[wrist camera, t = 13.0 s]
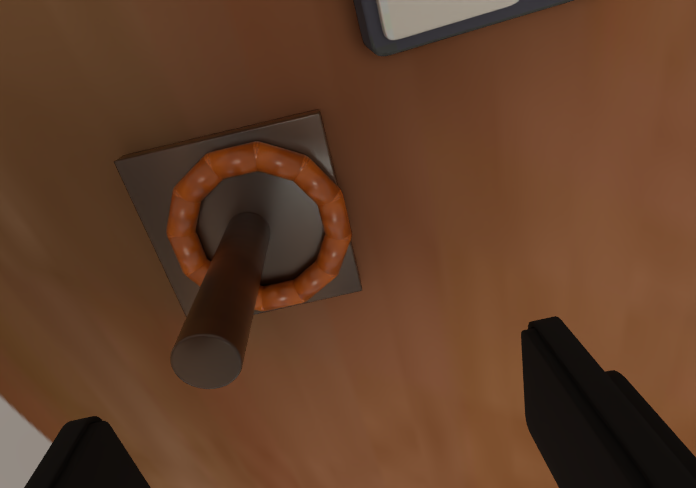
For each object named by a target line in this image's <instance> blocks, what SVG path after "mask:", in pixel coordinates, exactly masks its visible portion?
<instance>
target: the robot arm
mask: <svg viewBox="0 0 696 488" xmlns="http://www.w3.org/2000/svg"><path fill="white" fill-rule="evenodd" d="M521 342H522V361H523V380H524V399H525V417H526V422H527V426H528V429H529V431H530V433H531V436H532V437H533V439H534V441H535V443H536V445H537V447H538V449H539V451H540V452H541V454H542V456H543V458H544V460H545V462H546V464H547V466H548V468H549V469H550V471H551V473H552V475H553V477H554V479H555V481H556V483H557V485H558V486H559V488H696V457H695V456H694V455H693V454H692V453H691V451H690V450H689V449H688V448H687V447H686V446H685V445H684V444H683V442H682V441H681V440H680V439H679V438H678V437H677V436H676V435H675V433H674V432H673V431H672V430H671V429H670V428H669V427H668V425H667V424H666V423H665V422H664V421H663V420H662V419H661V418H660V416H659V415H658V414H657V413H656V412H655V411H654V410H653V409H652V407H651V406H650V405H649V404H648V403H647V402H646V401H645V399H644V398H643V397H642V396H641V395H640V394H639V393H638V392H637V390H636V389H635V388H634V387H633V386H632V385H631V384H630V383H629V381H628V380H627V379H626V378H625V377H624V376H623V375H622V374H620V373H619V372H617V371H615V370H613V371H606V372H604V370H603V369H602V368H601V367H600V366H599V364H598V363H597V362H596V361H595V360H594V358H593V357H592V356H591V355H590V354H589V352H588V351H587V350H586V349H585V348H584V347H583V345H582V344H581V343H580V342H579V341H578V339H577V338H576V337H575V336H574V335H573V333H572V332H571V331H570V330H569V329H568V327H567V326H566V325H565V324H564V323H563V322H562V320H561V319H560V318H558V317H556V316H555V317H550V318H546V319H541V320H536V321H532V322H529V325H528V329H527V330H523V331H522V332H521ZM24 488H150V486H149V485H148V483H147V481H146V480H145V478H144V477H143V475H142V474H141V472H140V471H139V469H138V468H137V466H136V464H135V463H134V461H133V460H132V458H131V457H130V455H129V454H128V452H127V451H126V449H125V447H124V446H123V444H122V443H121V441H120V440H119V438H118V437H117V435H116V434H115V432H114V431H113V429H112V427H111V426H110V424H109V423H108V422H106V421H102V420H101V419H100V418H99V417H97V416H92V417H88V418H83V419H78V420H74V421H69V422H68V423H66V424H65V425H64V426H63V427H62V429H61V430H60V432H59V434H58V435H57V437H56V438H55V440H54V441H53V443H52V445H51V446H50V448H49V450H48V451H47V453H46V454H45V456H44V458H43V459H42V461H41V462H40V464H39V465H38V467H37V469H36V470H35V472H34V473H33V475H32V476H31V478H30V479H29V481H28V483H27V484H26V486H25V487H24Z"/></svg>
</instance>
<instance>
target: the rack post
mask: <svg viewBox="0 0 696 488" xmlns="http://www.w3.org/2000/svg"><path fill="white" fill-rule="evenodd" d="M255 141H259V142H263V143H267V144H270V145H273V146H277V147H280V148H284V149H287V150H290V151H294V152H297V153H301V154H304V155H306V156H308V157H309V158H310V159H311V160H312V161H313V162H314V163H315V164H316V165H317V166H318V167H319V168H320V169H321V170H322V171H323V172H324V173H325V174H326V175H327V176H328V177H329V178H330V179H331V180H332V181H333V182H334V183H335V184H336V185H337V186H338V184H337V180H336V176H335V172H334V168H333V164H332V159H331V155H330V151H329V147H328V143H327V138H326V134H325V130H324V126H323V122H322V118H321V113H320V110H319V109H317V110H313V111H309V112H305V113H300V114H296V115H292V116H288V117H284V118H279V119H275V120H271V121H267V122H263V123H258V124H254V125H250V126H246V127H241V128H237V129H233V130H229V131H225V132H220V133H216V134H212V135H208V136H204V137H199V138H195V139H191V140H187V141H182V142H178V143H174V144H170V145H166V146H161V147H157V148H153V149H149V150H145V151H140V152H136V153H132V154H128V155H123V156H122V157H120V158H119V159H117V160H116V161H114V163H115V165H116V168H117V170H118V172H119V174H120V176H121V178H122V180H123V183H124V185H125V187H126V189H127V191H128V193H129V195H130V198H131V200H132V202H133V204H134V206H135V208H136V210H137V213H138V215H139V217H140V219H141V221H142V223H143V225H144V228H145V230H146V232H147V234H148V236H149V238H150V240H151V243H152V245H153V247H154V249H155V251H156V253H157V255H158V258H159V260H160V262H161V264H162V266H163V268H164V270H165V273H166V275H167V277H168V279H169V281H170V283H171V285H172V288H173V290H174V292H175V294H176V296H177V298H178V300H179V303H180V305H181V307H182V309H183V311H184V313H185V315H186V320H185V322H184V325H183V327H182V329H181V331H180V334H179V336H178V338H177V340H176V343H175V345H174V347H173V349H172V352H171V357H170V359H171V365H172V368H173V370H174V372H175V374H176V375H177V376H178V377H179V378H180V379H181V380H183V381H184V382H186V383H187V384H189V385H191V386H194V387H198V388H203V389H215V388H220V387H223V386H226V385H228V384H229V383H231V382H232V381H233V380H235V379H236V378H237V376H238V375H239V373H240V372H241V369H242V365H243V360H244V356H245V351H246V346H247V342H248V337H249V332H250V328H251V323H252V319H253V315H254V314H259V313H263V312H268V311H272V310H268V311H258V310H254V309H255V305H256V300H257V295H258V291H259V286H260V285H261V286H267V285H271V284H276V283H280V282H285V281H289V280H294V279H295V278H296V277H298V276H299V275H300V274H301V273H302V272H304V271H305V270H306V269H307V268H308V267H309V266H311V265H312V264H313V263H314V262H315V261H316V260H317V257H318V254H319V251H320V248H321V245H322V242H323V239H324V236H325V232H324V228H323V224H322V220H321V217H320V213H319V209H318V205H317V204H316V203H315V202H314V201H313V200H312V199H311V198H310V197H309V196H308V195H307V194H306V193H305V192H304V191H303V190H302V189H301V188H300V187H299V186H298V185H297V184H296V183H295V182H293V181H291V180H288V179H284V178H280V177H277V176H273V175H270V174H266V173H263V172H259V171H256V172H252V173H248V174H243V175H239V176H235V177H231V178H226V179H223V180H222V181H221V182H220V183H219V184H218V185H217V186H216V187H215V188H214V189H213V190H212V191H211V192H210V193H209V194H208V195H207V196H206V197H205V198H204V199H203V200H202V201H201V205H200V210H199V215H198V220H197V226H196V233H197V235H198V238H199V240H200V242H201V245H202V247H203V250H204V252H205V255H206V257H207V259H208V260H209V261H211V264H210V266H209V268H208V270H207V273H206V275H205V277H204V279H203V282H202V284H201V286H198V285H197V284H196V283H195V282H193V281H192V280H191V279H189V278H188V277H187V276H186V275H185V274H184V273H183V271H182V268H181V266H180V264H179V262H178V259H177V257H176V255H175V253H174V250H173V248H172V246H171V244H170V241H169V239H168V237H167V233H166V229H167V223H168V217H169V211H170V204H171V198H172V192H173V189H174V187H175V185H176V184H177V183H178V182H179V181H180V180H181V179H182V178H183V177H184V176H185V175H186V174H187V173H188V172H189V171H190V170H191V169H192V168H193V167H194V166H195V165H196V164H197V163H198V162H199V161H200V160H201V159H202V158H203V157H204V156H205V155H206V154H207V153H209V152H212V151H216V150H221V149H225V148H229V147H234V146H238V145H242V144H246V143H251V142H255ZM358 291H362V286H361V280H360V276H359V272H358V268H357V264H356V259H355V255H354V251H353V247H352V243H351V240H350V243H349V246H348V249H347V252H346V254H345V257H344V260H343V263H342V266H341V268H340V271H339V274H338V275H337V276H336V277H335V278H334V279H333V280H332V281H331V282H329V283H328V284H327V285H326V286H325V287H323V288H322V289H321V290H320V291H319V292H317V293H316V294H315V295H314V296H313V297H311V298H310V299H309V300H308V301H306V302H304V303H308V302H313V301H317V300H322V299H326V298H331V297H335V296H340V295H344V294H349V293H353V292H358ZM304 303H300V304H304ZM296 305H299V304H296ZM291 306H295V305H291ZM287 307H290V306H287ZM282 308H286V307H282ZM277 309H281V308H277ZM277 309H273V310H277Z"/></svg>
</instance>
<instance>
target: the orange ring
mask: <svg viewBox="0 0 696 488" xmlns="http://www.w3.org/2000/svg"><path fill="white" fill-rule="evenodd" d="M256 171H259V172H263V173H266V174H270V175H273V176H277V177H280V178H284V179H288V180H291V181H293V182H295V183H296V184H297V185H298V186H299V187H300V188H301V189H302V190H303V191H304V192H305V193H306V194H307V195H308V196H309V197H310V198H311V199H312V200H313V201H314V202H315V203H316V204H317V205H318V209H319V213H320V217H321V220H322V224H323V228H324V232H325V236H324V239H323V242H322V245H321V248H320V251H319V254H318V257H317V260H316V261H315V262H314V263H313V264H312V265H311V266H309V267H308V268H307V269H306V270H305V271H304V272H302V273H301V274H300V275H299V276H298V277H296V278H295V279H294V280H289V281H285V282H280V283H276V284H271V285H267V286H261V285H260V286H259V291H258V295H257V300H256V305H255V309H254V310H258V311H268V310H273V309H277V308H282V307H287V306H291V305H296V304H300V303H304V302H306V301H308V300H309V299H310V298H311V297H313V296H314V295H315V294H316V293H317V292H319V291H320V290H321V289H322V288H323V287H325V286H326V285H327V284H328V283H329V282H331V281H332V280H333V279H334V278H335V277H336V276H337V275H338V274H339V271H340V268H341V266H342V263H343V260H344V257H345V254H346V252H347V249H348V246H349V243H350V240H351V237H352V231H351V227H350V223H349V218H348V214H347V210H346V206H345V201H344V197H343V193H342V191H341V189H340V188H339V187H338V186H337V185H336V184H335V183H334V182H333V181H332V180H331V179H330V178H329V177H328V176H327V175H326V174H325V173H324V172H323V171H322V170H321V169H320V168H319V167H318V166H317V165H316V164H315V163H314V162H313V161H312V160H311V159H310V158H309V157H308V156H306V155H304V154H301V153H297V152H294V151H290V150H287V149H284V148H280V147H277V146H273V145H270V144H267V143H263V142H259V141H255V142H251V143H246V144H242V145H238V146H234V147H229V148H225V149H221V150H216V151H212V152H209V153H207V154H206V155H205V156H204V157H203V158H202V159H201V160H200V161H199V162H198V163H197V164H196V165H195V166H194V167H193V168H192V169H191V170H190V171H189V172H188V173H187V174H186V175H185V176H184V177H183V178H182V179H181V180H180V181H179V182H178V183H177V184H176V185H175V187H174V189H173V192H172V198H171V204H170V211H169V217H168V223H167V229H166V233H167V237H168V239H169V241H170V244H171V246H172V248H173V250H174V253H175V255H176V257H177V259H178V262H179V264H180V266H181V268H182V271H183V273H184V274H185V275H186V276H187V277H188V278H189V279H191V280H192V281H193V282H195V283H196V284H197V285H198V286H201V284H202V282H203V279H204V277H205V275H206V273H207V270H208V268H209V266H210V264H211V261H209V260H208V259H207V257H206V255H205V252H204V250H203V247H202V245H201V242H200V240H199V238H198V235H197V233H196V226H197V220H198V215H199V210H200V205H201V201H202V200H203V199H204V198H205V197H206V196H207V195H208V194H209V193H210V192H211V191H212V190H213V189H214V188H215V187H216V186H217V185H218V184H219V183H220V182H221V181H222V180H223V179H226V178H231V177H235V176H239V175H243V174H248V173H252V172H256Z"/></svg>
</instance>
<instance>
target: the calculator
mask: <svg viewBox="0 0 696 488" xmlns="http://www.w3.org/2000/svg"><path fill="white" fill-rule="evenodd" d="M570 1H573V0H354V5H355V9H356V13H357V18H358V22H359V26H360V31H361V35H362V39H363V42H364V44H365V45H366V46H367V47H368V48H369V49H370V50H371V51H372V52H374V53H375V54H377V55H379V56H388V55H392V54H395V53H399V52H402V51H405V50H409V49H412V48H416V47H419V46H422V45H426V44H429V43H432V42H436V41H439V40H442V39H446V38H449V37H452V36H456V35H459V34H463V33H466V32H469V31H473V30H476V29H479V28H483V27H486V26H489V25H493V24H496V23H499V22H503V21H506V20H510V19H513V18H516V17H520V16H523V15H526V14H530V13H533V12H536V11H540V10H543V9H546V8H550V7H553V6H557V5H560V4H563V3H567V2H570Z"/></svg>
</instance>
